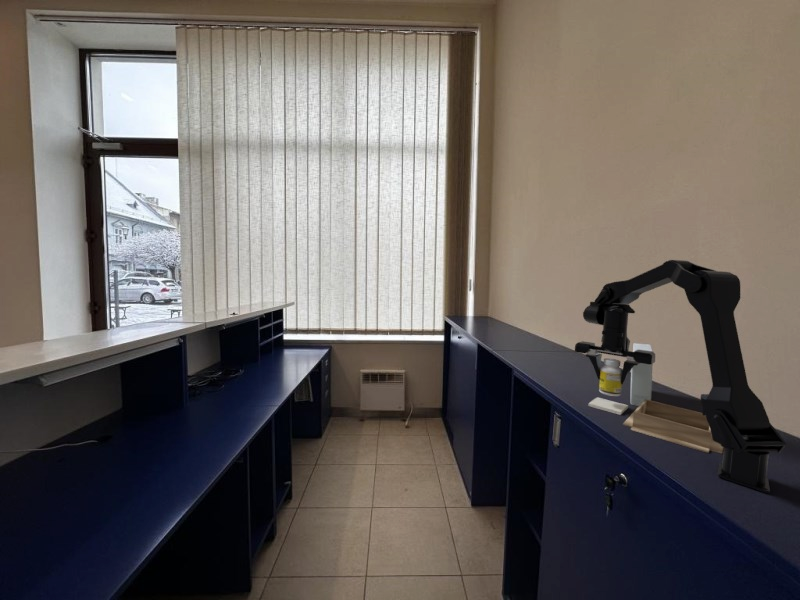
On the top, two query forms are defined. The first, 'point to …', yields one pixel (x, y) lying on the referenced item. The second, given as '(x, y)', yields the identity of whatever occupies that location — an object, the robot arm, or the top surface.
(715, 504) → the top surface
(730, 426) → the robot arm
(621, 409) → the tile
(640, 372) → the skincare box
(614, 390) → the supplement bottle
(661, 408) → the light brown piece
